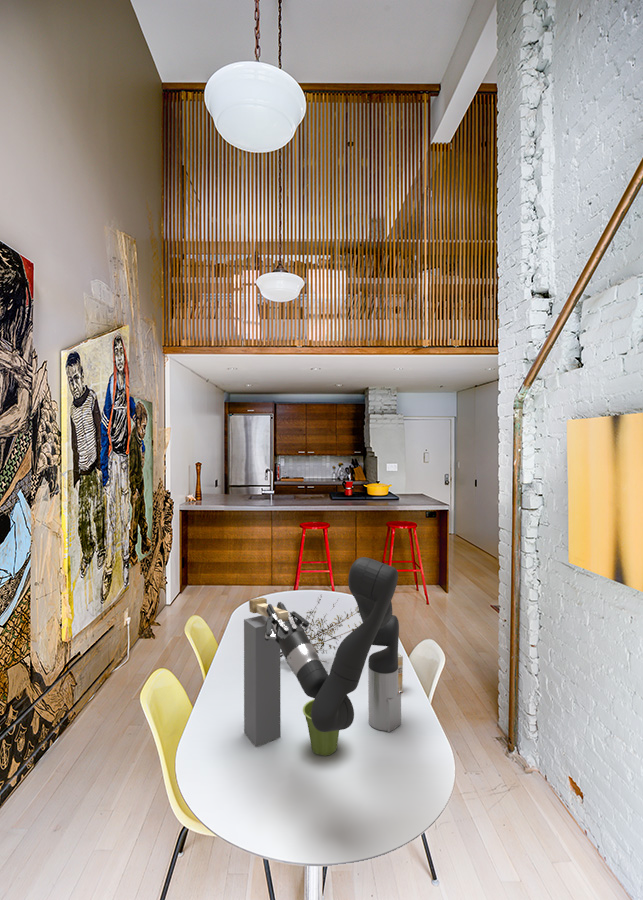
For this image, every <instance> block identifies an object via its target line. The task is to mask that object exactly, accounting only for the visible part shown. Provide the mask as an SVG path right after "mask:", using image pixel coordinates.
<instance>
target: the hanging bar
mask: <svg viewBox="0 0 643 900" xmlns="http://www.w3.org/2000/svg"><path fill="white" fill-rule="evenodd" d="M248 604H249V605H248V606H249V612H250V613H252V614H258V615H260V616H261V615H263V616H266V617H269V616H268V614H267V612H266V610H267V607H268V604H269V603H268V601H267V598H265V597H258V598H254V599H253V598H252V599H249V600H248ZM272 607H273V608H274V610H275V613H276V615H277V616H278V618H279V619H281V620H282V621H283V623H285V621H288V617H289V612H290V611H289V610H287V611H286V610H282V609H279V608H277V606H274V605H272ZM288 611H289V612H288Z"/></svg>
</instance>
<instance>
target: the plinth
mask: <svg viewBox="0 0 643 900" xmlns="http://www.w3.org/2000/svg"><path fill="white" fill-rule="evenodd" d="M267 618H268V617H266V616H263V615H261V614H260V615H257V616H253V617H248V618H244V619H243V702H244V703H243V720H244V721H243V727H244V728H243V733H244V734H245V736H246V737H247V738H248V740H249V741H250V742H251V743H252V744H253V745H254V747H255V748H257V747H259V746H262V745H266V744H267V743H270V742H273V741H274V740H278V739H280V738H281V657H280V655H281V654H280V652H281V649H280V645H279V644H278V643H277V642H276V641H275V639H269V640H268V641H266V640H265V624H266V621H267ZM271 629H273V632H274V634H276V631H275V630H274V626H273V625H271Z"/></svg>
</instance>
